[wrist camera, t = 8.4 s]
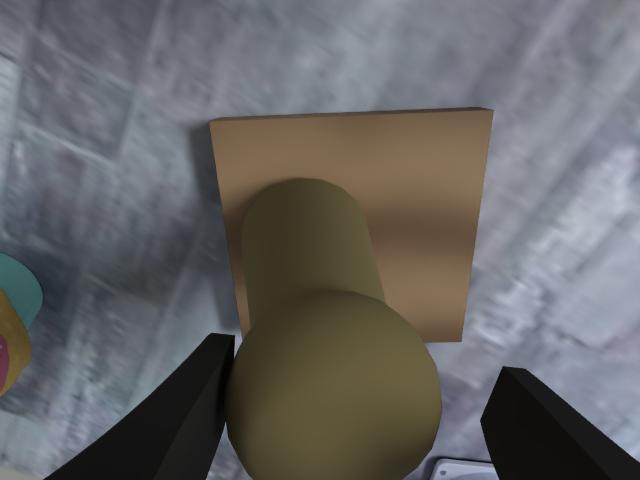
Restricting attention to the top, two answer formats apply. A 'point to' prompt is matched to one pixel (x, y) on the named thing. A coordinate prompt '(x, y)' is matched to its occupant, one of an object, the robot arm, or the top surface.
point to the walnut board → (374, 195)
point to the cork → (324, 349)
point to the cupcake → (16, 317)
